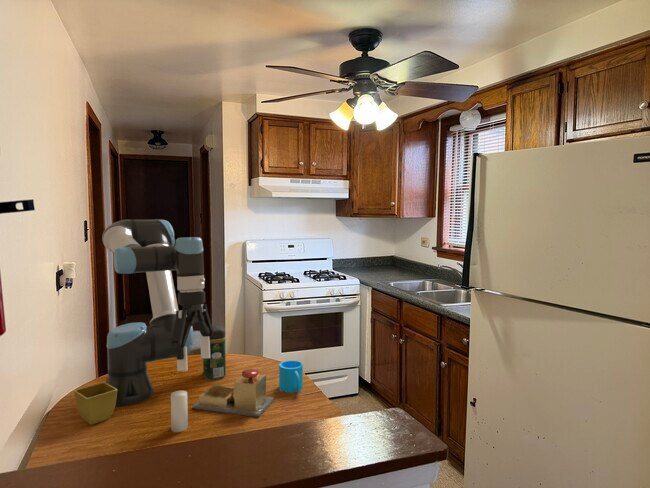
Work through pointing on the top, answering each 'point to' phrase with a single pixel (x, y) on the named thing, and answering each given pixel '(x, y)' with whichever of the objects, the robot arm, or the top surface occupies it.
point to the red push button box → (238, 396)
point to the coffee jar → (216, 355)
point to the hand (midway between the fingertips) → (194, 364)
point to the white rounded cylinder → (179, 411)
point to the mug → (290, 376)
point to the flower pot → (96, 402)
